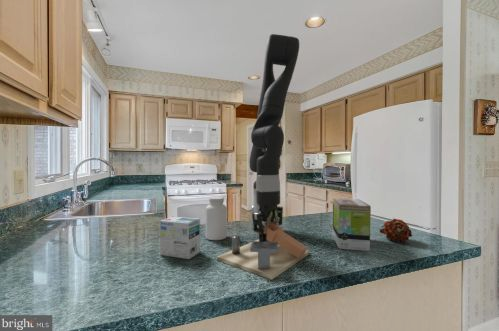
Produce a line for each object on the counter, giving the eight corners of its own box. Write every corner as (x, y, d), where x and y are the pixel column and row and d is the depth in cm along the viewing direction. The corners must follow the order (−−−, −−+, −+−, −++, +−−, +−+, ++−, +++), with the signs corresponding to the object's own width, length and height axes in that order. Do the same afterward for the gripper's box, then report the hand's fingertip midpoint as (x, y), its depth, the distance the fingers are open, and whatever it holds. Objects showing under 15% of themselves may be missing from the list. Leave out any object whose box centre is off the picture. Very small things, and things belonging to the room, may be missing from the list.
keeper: (252, 260, 68) (252, 241, 68) (277, 261, 67) (277, 242, 67) (250, 268, 62) (250, 247, 62) (277, 270, 62) (277, 249, 62)
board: (216, 260, 71) (216, 256, 71) (259, 241, 87) (259, 238, 87) (271, 279, 59) (271, 275, 59) (309, 254, 75) (309, 250, 75)
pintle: (230, 253, 73) (230, 236, 73) (235, 251, 75) (235, 234, 75) (236, 255, 72) (236, 238, 71) (241, 252, 73) (241, 236, 73)
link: (256, 232, 76) (259, 223, 76) (266, 228, 81) (269, 220, 80) (296, 260, 68) (299, 251, 67) (305, 254, 72) (309, 245, 72)
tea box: (371, 251, 77) (371, 205, 77) (337, 249, 79) (338, 204, 79) (359, 237, 92) (359, 198, 92) (331, 235, 94) (331, 197, 94)
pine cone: (406, 251, 81) (384, 244, 93) (424, 235, 82) (401, 231, 94) (389, 230, 82) (370, 226, 94) (408, 215, 83) (387, 213, 95)
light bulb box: (201, 251, 77) (201, 218, 77) (189, 260, 71) (189, 223, 71) (172, 248, 81) (172, 215, 80) (159, 255, 74) (158, 220, 74)
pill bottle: (230, 235, 94) (230, 197, 93) (219, 242, 86) (219, 200, 86) (213, 233, 97) (213, 195, 97) (201, 239, 90) (201, 198, 89)
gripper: (270, 186, 85) (271, 234, 85) (244, 190, 73) (245, 246, 74) (289, 187, 80) (290, 238, 80) (264, 192, 69) (265, 251, 69)
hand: (269, 242), depth 77 cm, fingers closed on link, 6 cm apart
